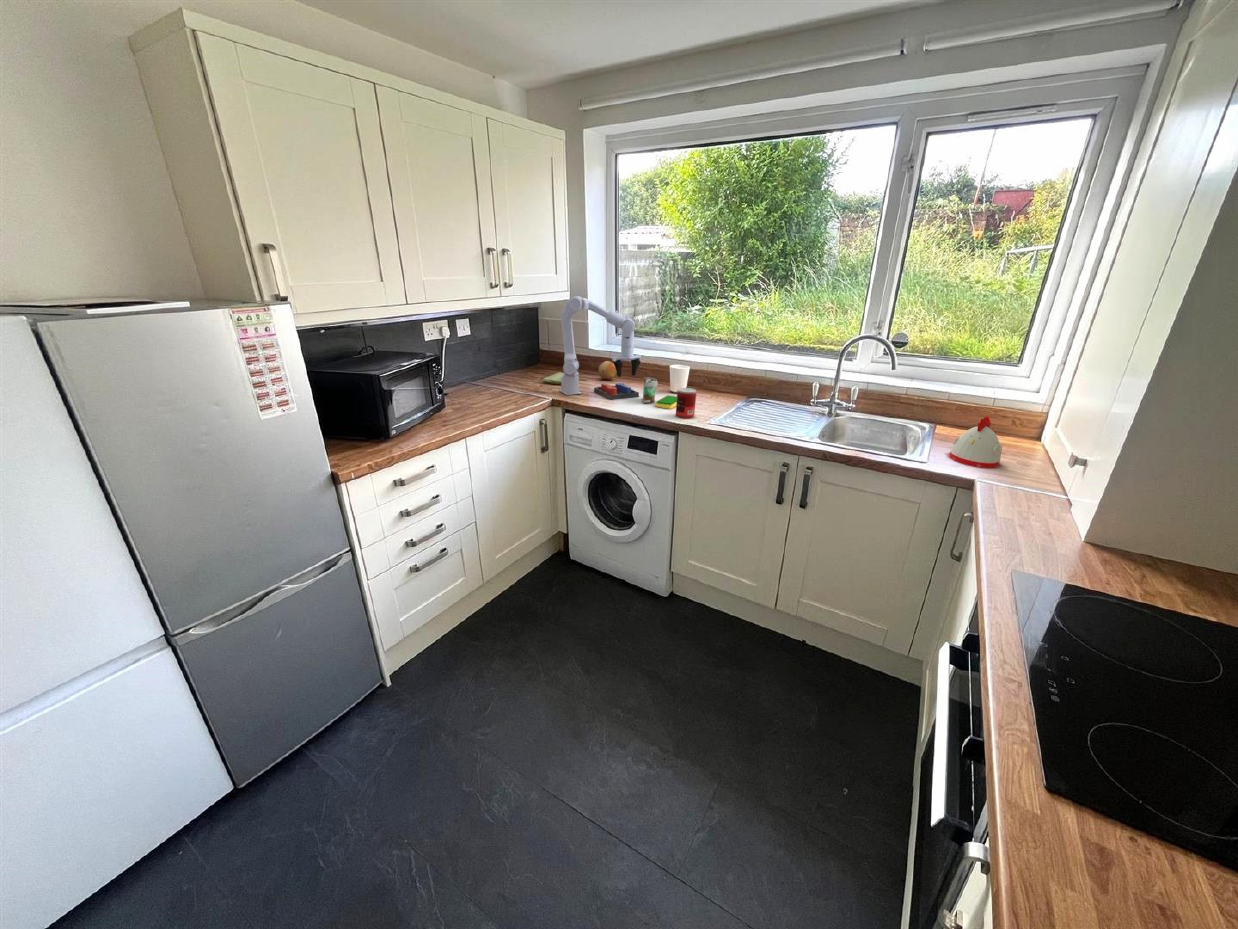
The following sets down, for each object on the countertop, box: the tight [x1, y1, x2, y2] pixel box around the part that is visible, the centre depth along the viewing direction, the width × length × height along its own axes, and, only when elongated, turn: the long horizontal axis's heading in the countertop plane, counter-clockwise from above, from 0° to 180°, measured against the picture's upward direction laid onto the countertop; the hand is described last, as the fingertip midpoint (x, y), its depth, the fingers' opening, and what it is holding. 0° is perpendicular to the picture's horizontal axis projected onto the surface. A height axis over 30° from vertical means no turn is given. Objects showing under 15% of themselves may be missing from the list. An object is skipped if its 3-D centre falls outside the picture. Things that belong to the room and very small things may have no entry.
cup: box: [669, 364, 691, 394], centre depth 245 cm, size 10×10×13 cm
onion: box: [598, 360, 617, 381], centre depth 267 cm, size 10×10×10 cm
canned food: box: [675, 387, 697, 419], centre depth 205 cm, size 8×8×11 cm
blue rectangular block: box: [614, 382, 632, 394], centre depth 239 cm, size 4×11×3 cm, turn 28°
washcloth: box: [542, 372, 564, 386], centre depth 260 cm, size 13×18×3 cm
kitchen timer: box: [948, 416, 1003, 469], centre depth 164 cm, size 14×14×15 cm
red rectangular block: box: [600, 383, 617, 395], centre depth 236 cm, size 4×11×3 cm, turn 28°
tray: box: [593, 385, 640, 401], centre depth 238 cm, size 15×17×2 cm
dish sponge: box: [655, 395, 677, 410], centre depth 223 cm, size 7×14×2 cm, turn 154°
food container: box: [642, 376, 659, 405], centre depth 226 cm, size 12×6×10 cm, turn 179°
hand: (626, 375), depth 233 cm, fingers open, 7 cm apart
